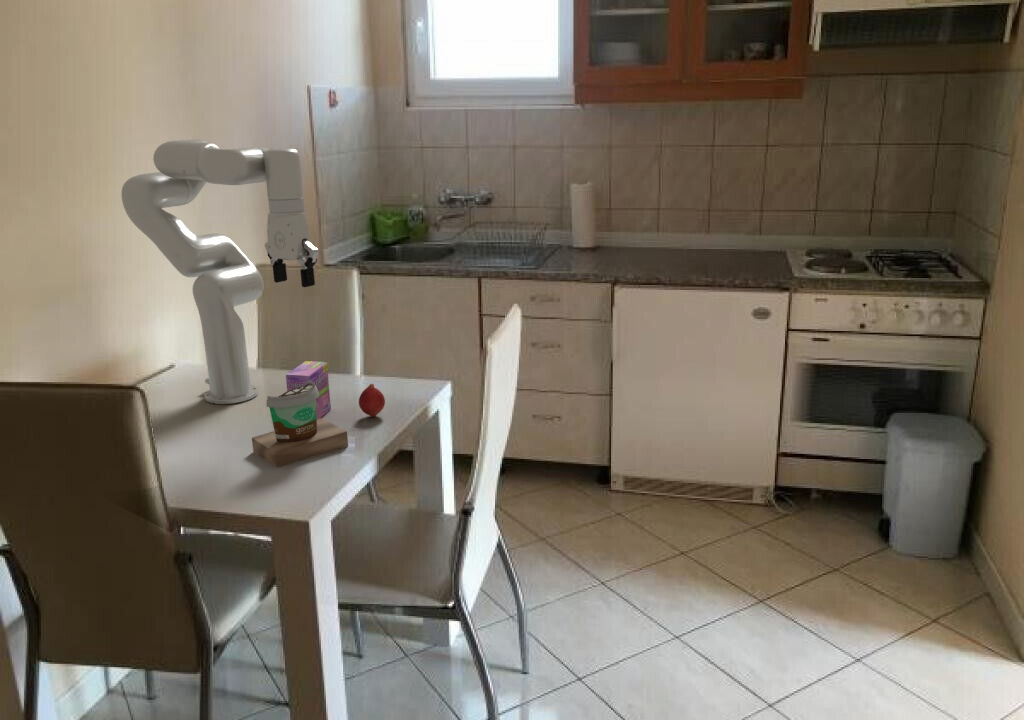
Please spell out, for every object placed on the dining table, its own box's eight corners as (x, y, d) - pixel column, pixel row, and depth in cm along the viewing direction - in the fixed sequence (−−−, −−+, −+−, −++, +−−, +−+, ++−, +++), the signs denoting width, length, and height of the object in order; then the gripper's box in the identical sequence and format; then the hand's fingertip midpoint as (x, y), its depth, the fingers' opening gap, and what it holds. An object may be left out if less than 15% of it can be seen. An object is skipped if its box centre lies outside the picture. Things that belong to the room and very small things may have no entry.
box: (313, 425, 189) (308, 375, 186) (289, 424, 191) (284, 374, 187) (332, 409, 199) (327, 361, 196) (309, 408, 200) (304, 360, 197)
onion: (363, 423, 190) (360, 389, 188) (357, 414, 195) (354, 382, 193) (388, 418, 192) (386, 385, 190) (382, 411, 197) (379, 378, 195)
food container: (294, 448, 168) (288, 400, 165) (271, 444, 171) (265, 397, 168) (335, 428, 178) (330, 382, 175) (313, 424, 181) (308, 379, 178)
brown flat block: (253, 455, 176) (251, 437, 175) (322, 435, 186) (321, 418, 185) (277, 471, 168) (275, 452, 167) (348, 449, 178) (346, 431, 177)
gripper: (248, 206, 187) (256, 282, 192) (298, 210, 177) (305, 291, 182) (276, 203, 193) (283, 277, 198) (326, 207, 183) (332, 285, 188)
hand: (294, 283), depth 190 cm, fingers open, 9 cm apart
